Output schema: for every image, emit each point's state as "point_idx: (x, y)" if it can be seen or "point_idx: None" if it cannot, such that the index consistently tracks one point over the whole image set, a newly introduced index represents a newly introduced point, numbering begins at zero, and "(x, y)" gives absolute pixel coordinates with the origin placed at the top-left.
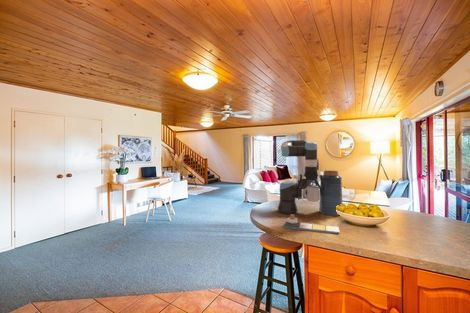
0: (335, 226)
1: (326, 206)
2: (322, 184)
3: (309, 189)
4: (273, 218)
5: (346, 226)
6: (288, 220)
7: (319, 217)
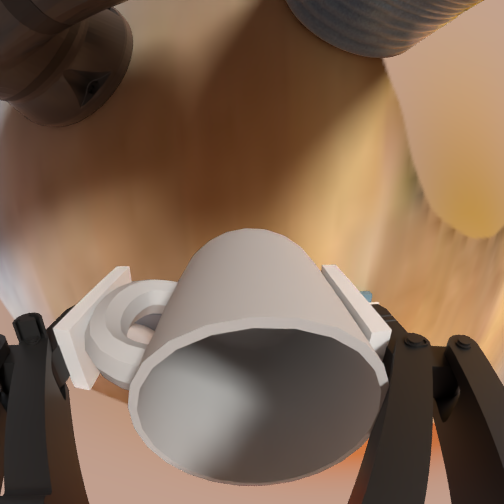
0: (366, 298)
1: (351, 23)
2: (455, 459)
3: (200, 450)
4: (33, 246)
5: (417, 249)
6: None
7: (287, 109)
